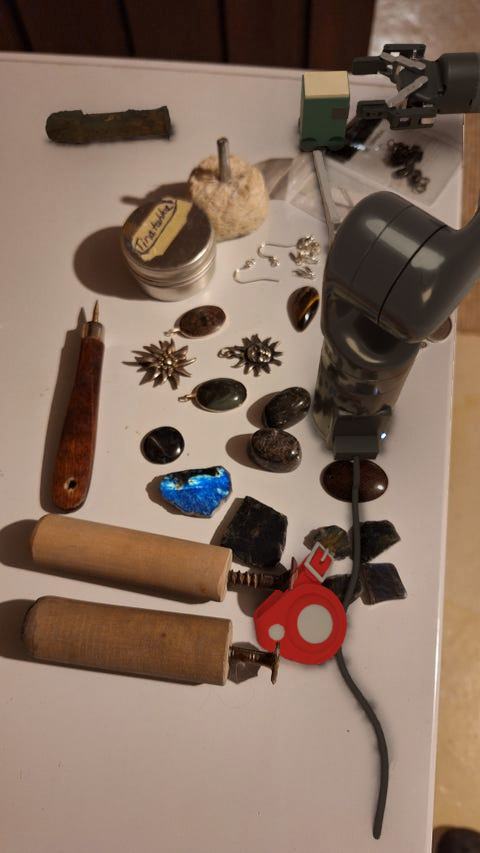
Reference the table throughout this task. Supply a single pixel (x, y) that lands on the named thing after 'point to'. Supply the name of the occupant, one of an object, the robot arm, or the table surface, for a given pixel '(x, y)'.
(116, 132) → the hand tool
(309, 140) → the camper van
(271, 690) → the table surface
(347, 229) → the robot arm
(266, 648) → the tracker holder
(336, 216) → the caliper
